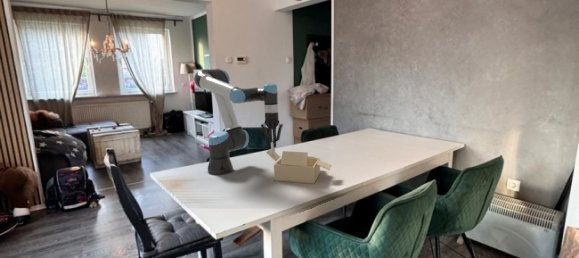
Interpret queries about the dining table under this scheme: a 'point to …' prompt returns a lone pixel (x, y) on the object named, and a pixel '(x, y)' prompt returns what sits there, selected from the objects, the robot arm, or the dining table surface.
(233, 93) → the robot arm
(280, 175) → the carton
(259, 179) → the dining table surface
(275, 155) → the flap
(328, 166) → the flap
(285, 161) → the flap
